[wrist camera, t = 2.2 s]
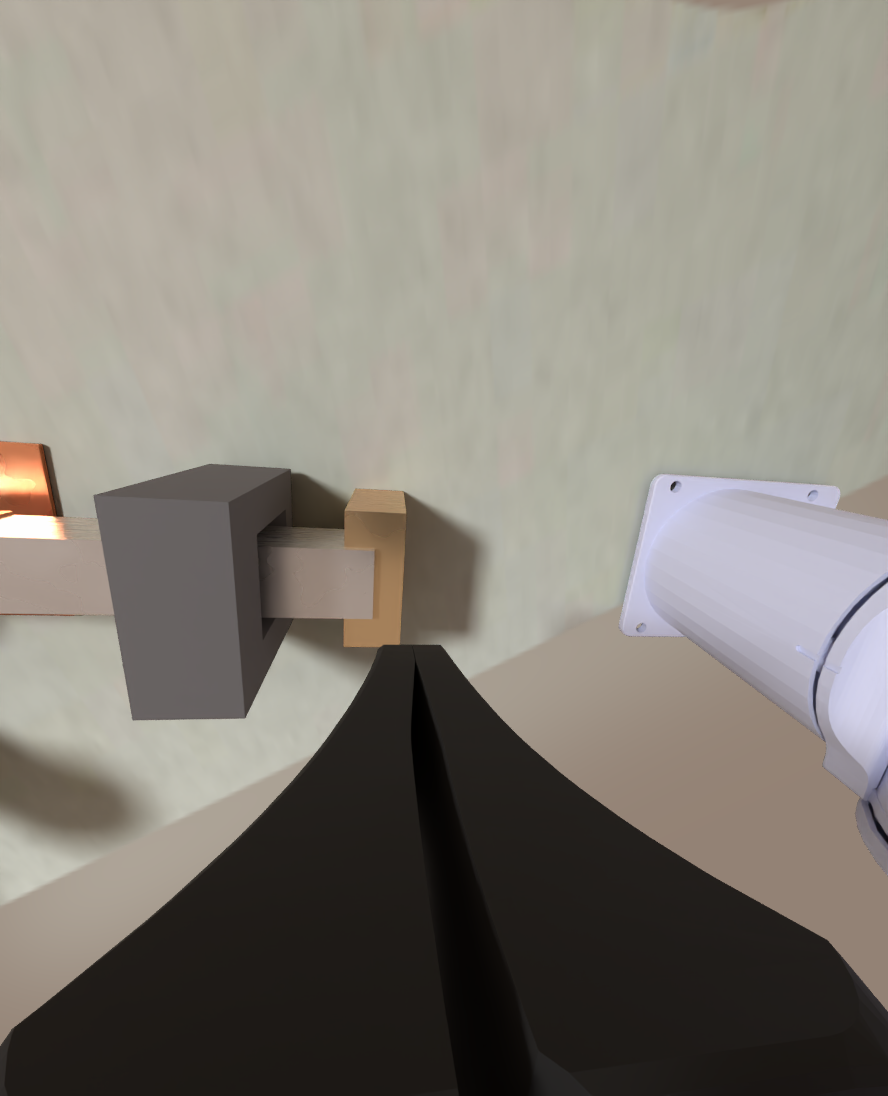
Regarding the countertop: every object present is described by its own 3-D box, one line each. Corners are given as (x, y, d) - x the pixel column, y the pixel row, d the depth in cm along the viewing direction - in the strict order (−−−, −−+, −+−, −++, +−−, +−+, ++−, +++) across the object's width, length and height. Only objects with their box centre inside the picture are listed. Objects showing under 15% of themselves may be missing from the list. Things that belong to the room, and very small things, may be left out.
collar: (290, 468, 16) (228, 501, 10) (295, 614, 18) (244, 718, 12) (209, 463, 16) (93, 495, 10) (223, 613, 18) (132, 720, 12)
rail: (404, 467, 17) (408, 485, 13) (397, 618, 19) (398, 676, 15) (-234, 426, 14) (-502, 431, 10) (-162, 609, 16) (-359, 679, 12)
